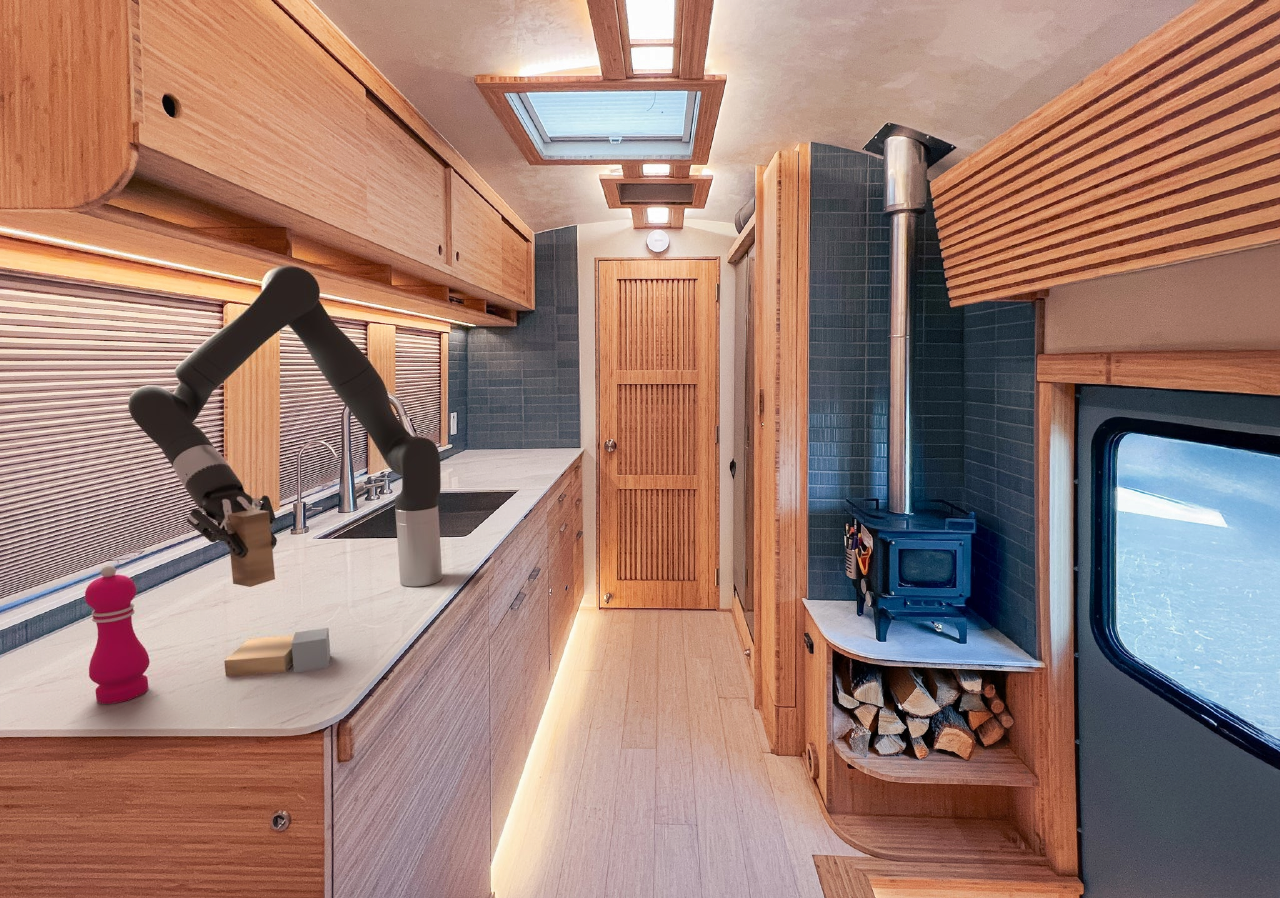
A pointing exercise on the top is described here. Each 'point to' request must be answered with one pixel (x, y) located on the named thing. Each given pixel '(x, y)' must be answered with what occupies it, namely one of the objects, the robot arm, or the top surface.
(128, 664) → the pepper mill
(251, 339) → the robot arm
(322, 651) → the slate block
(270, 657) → the oak base
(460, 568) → the top surface
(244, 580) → the walnut pillar
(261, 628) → the top surface
